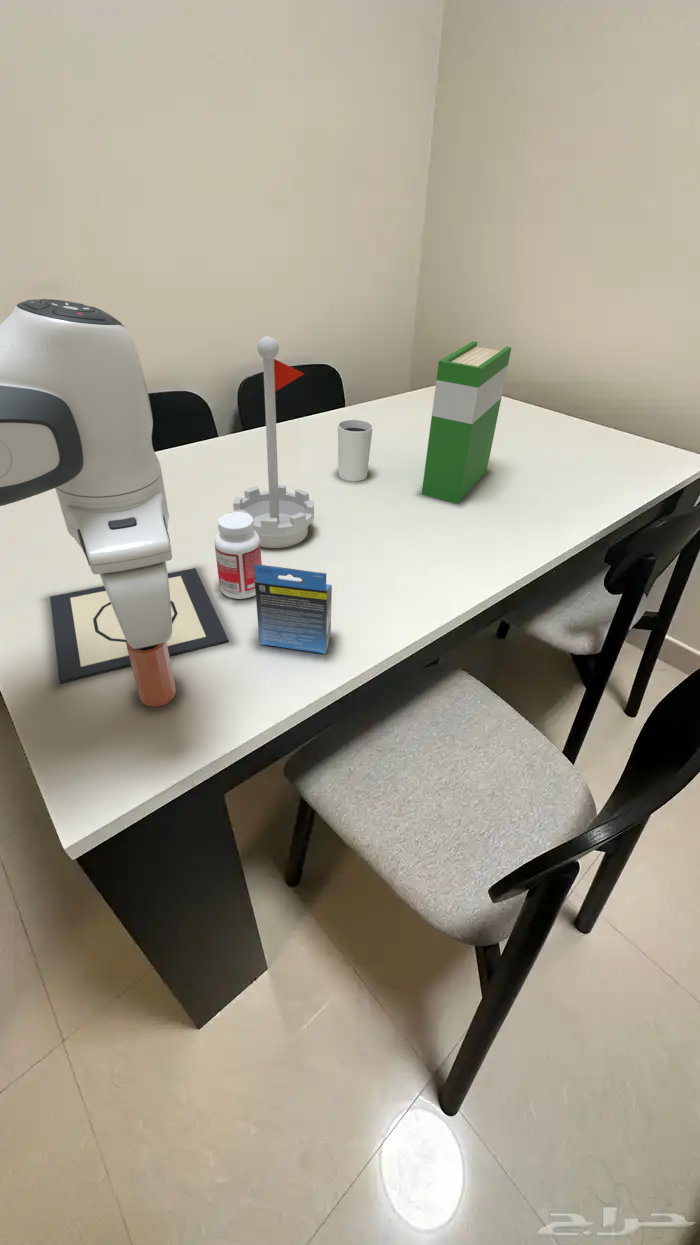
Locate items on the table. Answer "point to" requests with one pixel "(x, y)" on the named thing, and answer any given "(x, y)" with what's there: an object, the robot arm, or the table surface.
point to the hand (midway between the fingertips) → (143, 625)
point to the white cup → (354, 449)
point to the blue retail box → (293, 608)
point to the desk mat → (98, 640)
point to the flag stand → (276, 469)
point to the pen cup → (153, 674)
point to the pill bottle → (237, 554)
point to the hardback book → (463, 420)
